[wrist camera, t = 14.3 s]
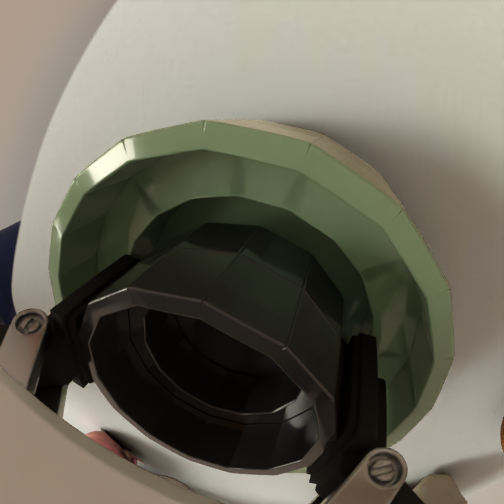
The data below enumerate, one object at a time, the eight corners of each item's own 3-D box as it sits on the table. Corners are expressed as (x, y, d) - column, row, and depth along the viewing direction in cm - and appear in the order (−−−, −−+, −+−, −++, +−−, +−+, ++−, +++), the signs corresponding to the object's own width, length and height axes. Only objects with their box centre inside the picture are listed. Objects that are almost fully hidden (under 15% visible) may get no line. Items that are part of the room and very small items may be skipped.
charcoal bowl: (156, 347, 13) (102, 416, 9) (161, 191, 10) (60, 242, 6) (307, 403, 12) (285, 492, 8) (380, 256, 8) (399, 362, 5)
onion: (92, 411, 25) (55, 457, 19) (153, 453, 25) (122, 503, 19) (91, 432, 29) (62, 469, 23) (142, 466, 29) (117, 507, 22)
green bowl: (132, 339, 17) (83, 394, 12) (136, 101, 11) (39, 108, 6) (345, 415, 15) (334, 493, 10) (469, 186, 8) (542, 238, 4)
